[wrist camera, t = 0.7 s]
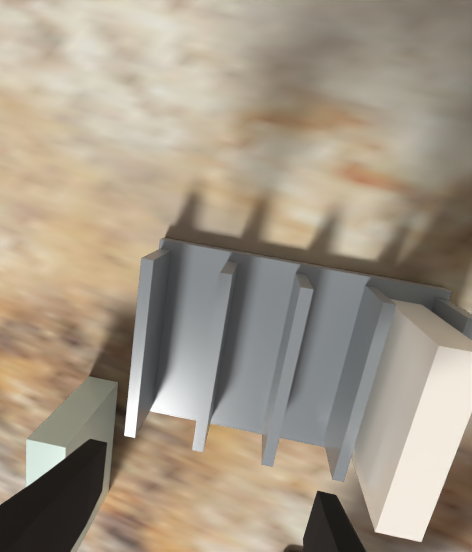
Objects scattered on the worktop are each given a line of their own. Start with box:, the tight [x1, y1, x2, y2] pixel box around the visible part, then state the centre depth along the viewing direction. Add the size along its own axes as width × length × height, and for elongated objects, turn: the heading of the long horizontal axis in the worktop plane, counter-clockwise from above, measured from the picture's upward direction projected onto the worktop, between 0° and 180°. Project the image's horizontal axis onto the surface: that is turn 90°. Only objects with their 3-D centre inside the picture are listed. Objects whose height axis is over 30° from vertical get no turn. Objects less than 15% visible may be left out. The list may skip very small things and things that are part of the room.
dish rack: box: [124, 238, 472, 482], centre depth 19 cm, size 11×16×4 cm
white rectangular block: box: [351, 299, 472, 542], centre depth 17 cm, size 9×2×6 cm, turn 171°
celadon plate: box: [26, 376, 118, 552], centre depth 20 cm, size 9×2×6 cm, turn 171°
